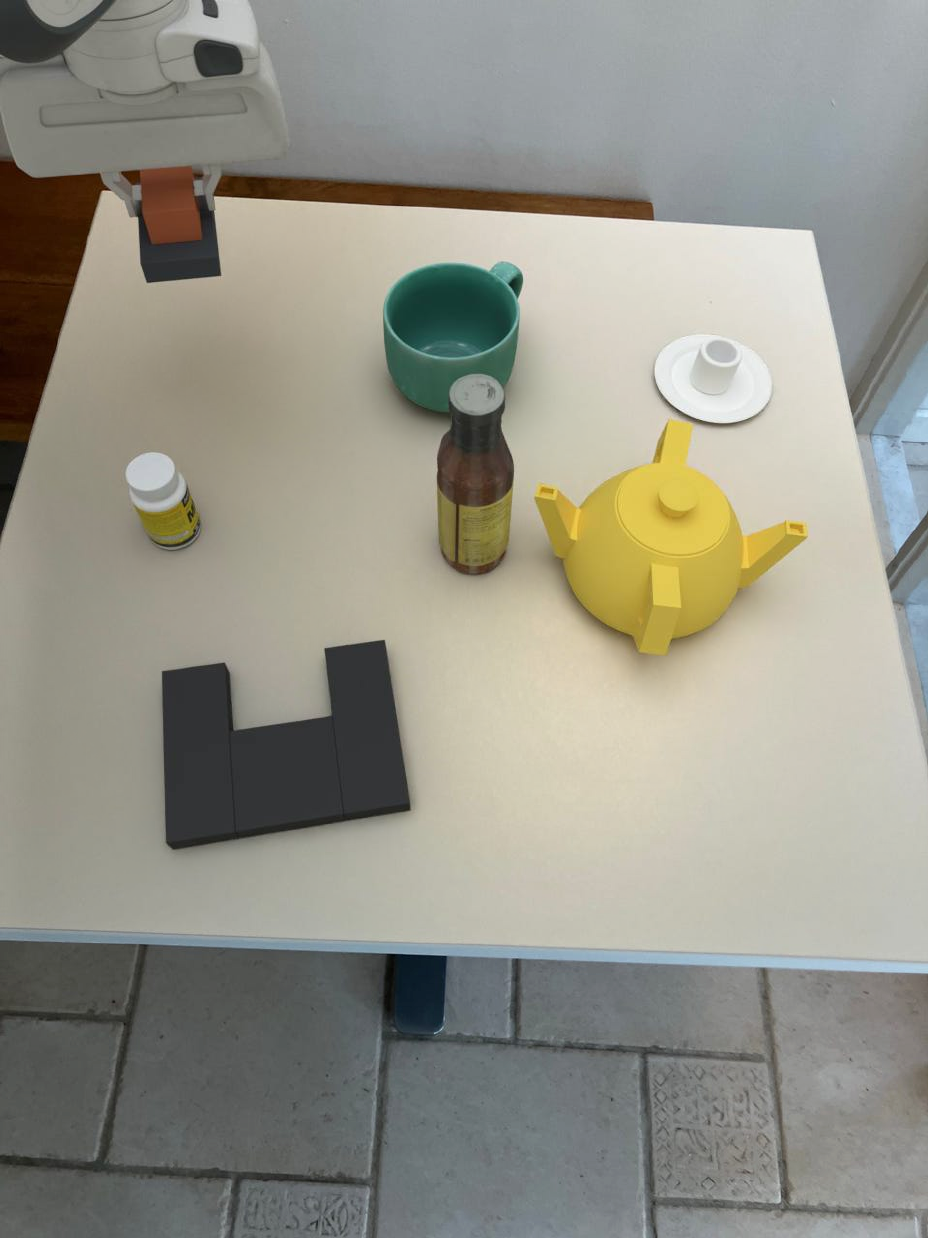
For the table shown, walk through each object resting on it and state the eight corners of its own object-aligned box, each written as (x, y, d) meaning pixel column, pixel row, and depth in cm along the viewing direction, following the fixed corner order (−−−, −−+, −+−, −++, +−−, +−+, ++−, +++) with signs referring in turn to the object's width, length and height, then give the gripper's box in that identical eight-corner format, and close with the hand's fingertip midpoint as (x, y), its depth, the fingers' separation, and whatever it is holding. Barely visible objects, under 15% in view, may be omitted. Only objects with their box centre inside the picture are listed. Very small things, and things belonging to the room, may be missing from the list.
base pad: (172, 850, 66) (165, 843, 64) (167, 681, 73) (161, 670, 71) (410, 810, 68) (410, 803, 67) (385, 649, 75) (384, 639, 73)
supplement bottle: (207, 542, 79) (185, 485, 72) (154, 557, 78) (126, 501, 71) (194, 501, 81) (171, 441, 74) (143, 515, 80) (114, 456, 73)
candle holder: (774, 352, 93) (789, 321, 89) (764, 439, 87) (779, 409, 84) (661, 329, 94) (671, 296, 90) (644, 412, 88) (654, 382, 85)
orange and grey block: (146, 283, 72) (129, 230, 68) (142, 202, 77) (126, 148, 72) (221, 276, 73) (209, 223, 69) (212, 197, 77) (200, 143, 73)
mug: (449, 451, 85) (452, 381, 77) (360, 380, 89) (353, 306, 80) (562, 362, 91) (576, 289, 83) (473, 299, 95) (478, 223, 87)
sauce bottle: (519, 539, 81) (545, 385, 63) (485, 589, 78) (502, 443, 60) (457, 507, 82) (466, 348, 64) (421, 556, 79) (421, 404, 62)
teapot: (655, 469, 85) (687, 380, 74) (778, 593, 79) (833, 516, 68) (516, 552, 80) (530, 469, 69) (637, 692, 74) (672, 625, 63)
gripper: (-40, 66, 57) (39, 247, 69) (280, 47, 60) (301, 224, 72) (-34, 12, 60) (40, 194, 72) (270, -4, 63) (292, 174, 75)
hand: (173, 209), depth 72 cm, fingers closed on orange and grey block, 4 cm apart
